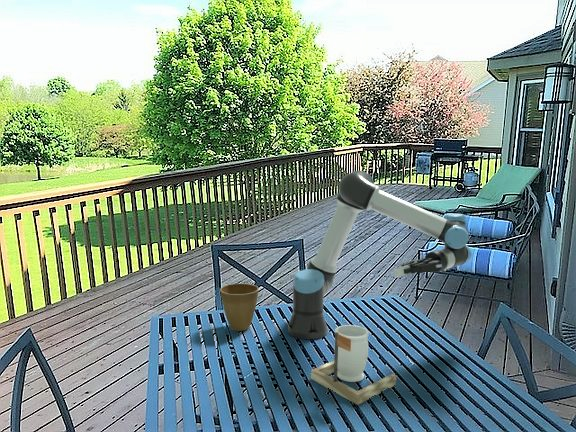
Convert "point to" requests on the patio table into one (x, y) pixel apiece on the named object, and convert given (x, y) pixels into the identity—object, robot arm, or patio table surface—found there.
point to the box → (347, 392)
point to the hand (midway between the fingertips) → (395, 273)
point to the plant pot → (239, 304)
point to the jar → (352, 353)
